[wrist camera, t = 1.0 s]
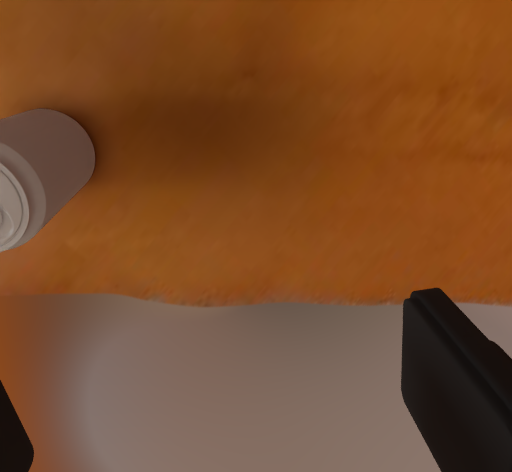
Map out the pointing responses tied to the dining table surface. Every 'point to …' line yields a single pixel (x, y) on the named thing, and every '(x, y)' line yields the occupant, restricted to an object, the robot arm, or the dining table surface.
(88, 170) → the beverage can
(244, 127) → the dining table surface
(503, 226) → the dining table surface
